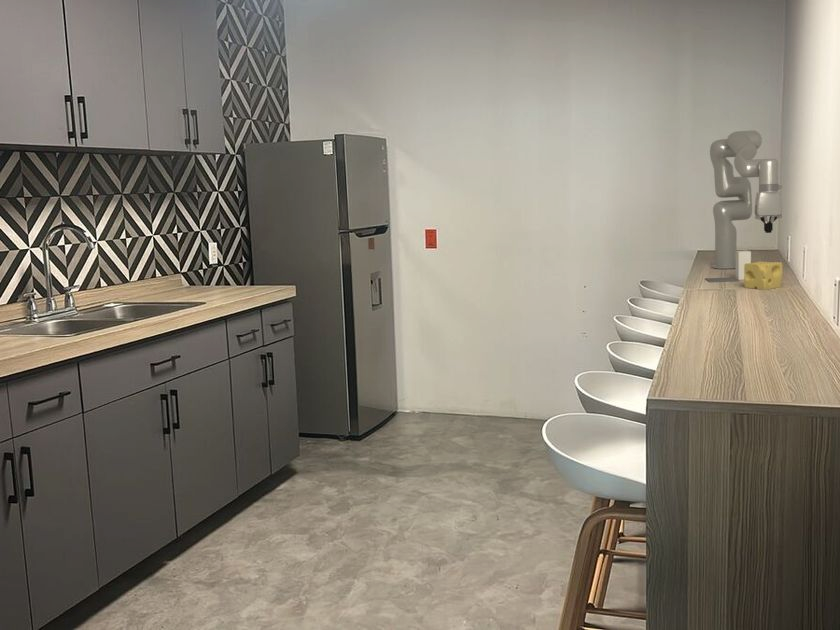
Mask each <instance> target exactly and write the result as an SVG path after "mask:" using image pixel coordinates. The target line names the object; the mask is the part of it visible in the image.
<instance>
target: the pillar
mask: <svg viewBox="0 0 840 630" xmlns="http://www.w3.org/2000/svg"><path fill="white" fill-rule="evenodd" d="M746 263H752V251H750V250H736V268H735V277H734V278H736V279H738V280H739V281H744V266H745V264H746Z"/></svg>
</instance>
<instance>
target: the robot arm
mask: <svg viewBox="0 0 840 630" xmlns="http://www.w3.org/2000/svg"><path fill="white" fill-rule="evenodd" d="M762 142H763V139H762V134H760V132H759V131H757V130H739V131H733V132H732V133H730V134H729V135H728V136H727V138H722V139H717V140H714V141H713V142H712V143H711V145H710V148H709V157H710V161H711V164H712V168H713V175H714V176H713V177H714V178H713V179H714V190H715V194H716V196H717V197H718V198H722V199H725V198H726V199H727V198H738V199H729V200H720V201H717V202H716V203H715V204H714V205H713V208H712V213H713V219H714V233H715V237H714V238H715V239H714V257H715V258H714V264H711V268H712V269H720V270H721V269H723V270H725V269H726V270H727V269H730V270H731V269H732V270H733V269H736V251H737V241H738V240H737V239H738V238H737V235H738V234H737V228H736V226H735V225H734V223H733V221H744V220H746V221H747V220H749V219H750V218H751V217H752V214H753V198H752V186H751V181H750V179H751V178H758V192H756V194H755V195H756V196H755V202H754V215H755V216H754V219H755V220H760V221H761V222H762V223H763V226H764V227H763V231H764V232H765V233H766V234H771V233H772V232H773V230H774V229H773V228H774V227H773V224H774V222H775V221H776V220H778V219H781V218H783V215H782V212H783V206H782V205H783V203H782V197H781V192H780V191H779V190H780V189H782V187H783V186H782V185H780V184H779V160H778V159H777V158H756V159H754V158H755V157H756V155H757V152H758V149H760V147H761V146H762ZM727 158H734V160H733V163H734V164H732V163H731V162H730V160H729V159H727ZM733 165H734V166H733ZM734 169H735V171H736V172H737V173H738V174H739V176H735V175H734ZM749 178H750V179H749ZM768 217H769V218H768Z"/></svg>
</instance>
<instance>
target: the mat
mask: <svg viewBox="0 0 840 630" xmlns="http://www.w3.org/2000/svg"><path fill="white" fill-rule="evenodd" d="M704 280H705V281H707V282H709V283H725V282H726V283H727V282H730V283H731V282H740V280H738V279H736V278H735V277H734V276H731V277H730V276H729V277H728V276H727V277H706V278H704Z"/></svg>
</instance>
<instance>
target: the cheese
mask: <svg viewBox="0 0 840 630" xmlns="http://www.w3.org/2000/svg"><path fill="white" fill-rule="evenodd" d="M783 273H784V272H783V263H782V262H780V261H779V262H778V261H776V262H775V261H773V262H772V261H756V262H751V263H746V264H745V266H744V280H743V283H744V288H747V289H757V290H761V291H765V290H771V289H778V288H779V287H780V288H781V286H782V282H783V275H784V274H783Z"/></svg>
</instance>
